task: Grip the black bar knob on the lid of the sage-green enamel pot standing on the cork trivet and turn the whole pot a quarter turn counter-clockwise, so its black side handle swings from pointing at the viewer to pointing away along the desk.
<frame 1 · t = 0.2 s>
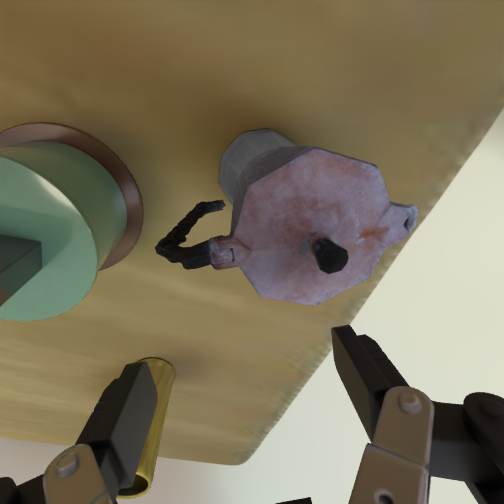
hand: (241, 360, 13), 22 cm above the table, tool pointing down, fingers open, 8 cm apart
moka pot: (257, 175, 32), on the table
vase: (153, 371, 43), on the table
trivet: (65, 205, 31), on the table
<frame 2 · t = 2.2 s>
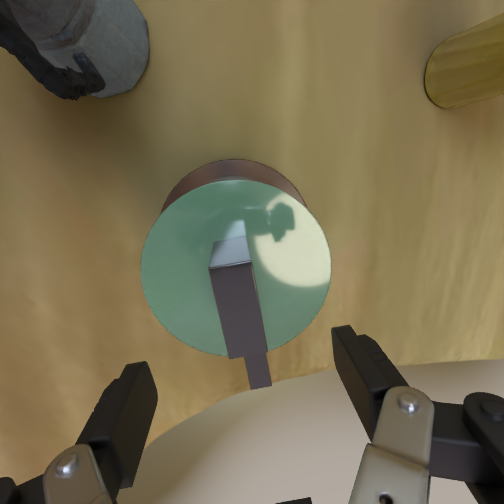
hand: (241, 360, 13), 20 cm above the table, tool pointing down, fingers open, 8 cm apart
moka pot: (103, 43, 25), on the table
vase: (453, 73, 28), on the table
pot: (243, 295, 24), point 8 cm above the table, hinge at 0.0°
trivet: (236, 238, 31), on the table
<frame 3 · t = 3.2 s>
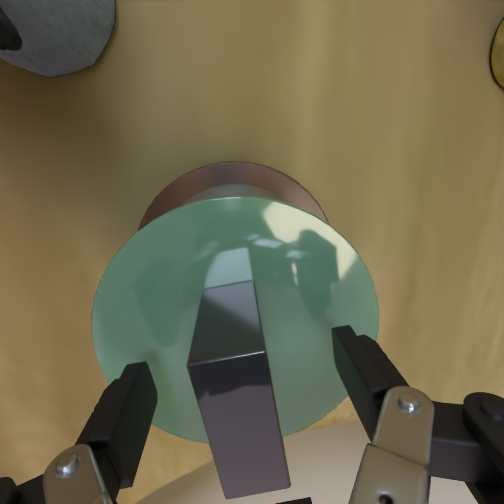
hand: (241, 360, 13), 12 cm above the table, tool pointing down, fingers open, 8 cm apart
moka pot: (51, 1, 18), on the table
pot: (246, 355, 17), point 8 cm above the table, hinge at 0.0°
trivet: (236, 263, 24), on the table
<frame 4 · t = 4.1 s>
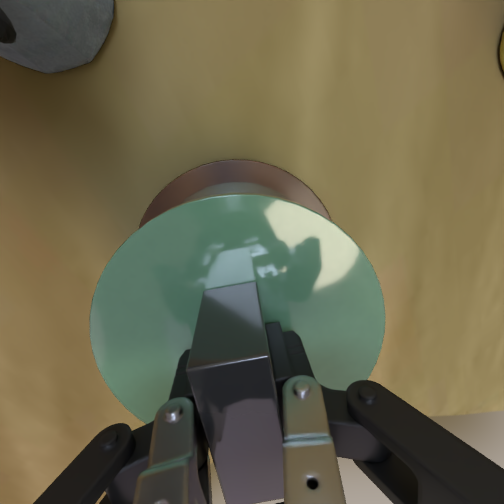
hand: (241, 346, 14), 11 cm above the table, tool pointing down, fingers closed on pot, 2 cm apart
pot: (249, 356, 17), point 8 cm above the table, hinge at 0.0°, touching gripper
trivet: (238, 263, 24), on the table
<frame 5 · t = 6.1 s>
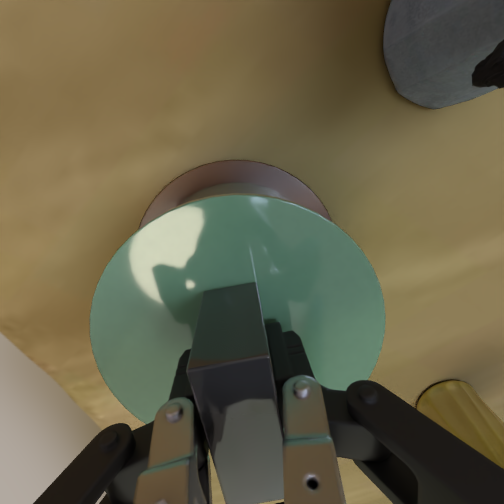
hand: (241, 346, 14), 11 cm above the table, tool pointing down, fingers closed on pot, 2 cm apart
moka pot: (440, 44, 20), on the table
vase: (443, 401, 30), on the table
pot: (249, 357, 17), point 8 cm above the table, hinge at 74.2°, touching gripper
trivet: (238, 263, 24), on the table
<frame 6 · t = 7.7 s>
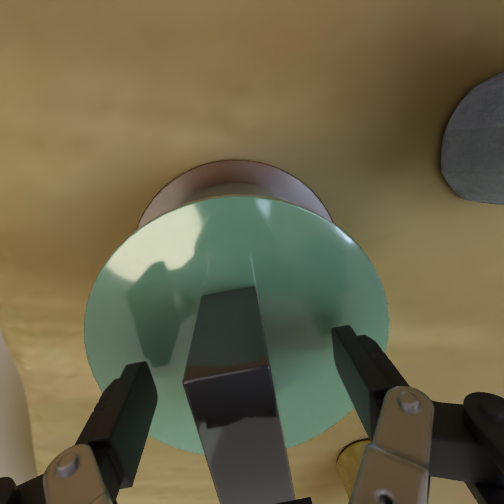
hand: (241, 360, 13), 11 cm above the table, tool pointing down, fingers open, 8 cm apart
moka pot: (488, 146, 22), on the table
vase: (363, 458, 31), on the table
pot: (249, 362, 16), point 8 cm above the table, hinge at 97.1°
trivet: (237, 265, 23), on the table
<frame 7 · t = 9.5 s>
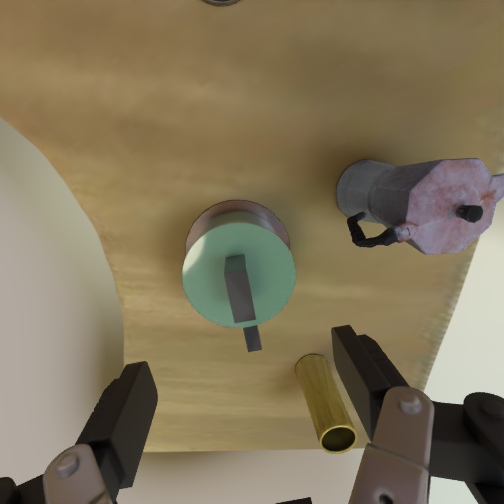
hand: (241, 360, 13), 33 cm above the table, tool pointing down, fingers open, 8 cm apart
moka pot: (361, 192, 44), on the table
vase: (311, 367, 53), on the table
pot: (242, 290, 39), point 8 cm above the table, hinge at 97.1°
trivet: (238, 251, 45), on the table
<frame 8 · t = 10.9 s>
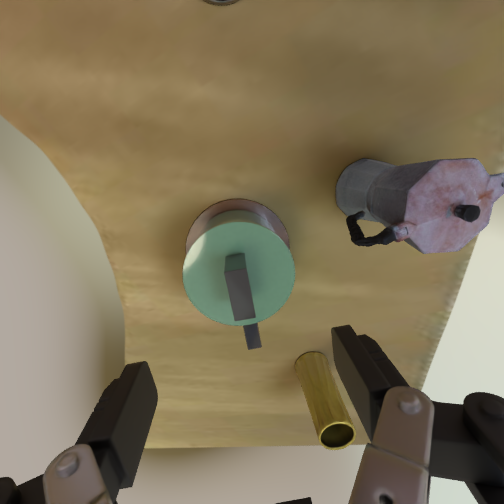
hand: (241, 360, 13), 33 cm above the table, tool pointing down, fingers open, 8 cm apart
moka pot: (360, 191, 44), on the table
vase: (311, 364, 54), on the table
pot: (242, 288, 39), point 8 cm above the table, hinge at 97.1°
trivet: (238, 250, 46), on the table
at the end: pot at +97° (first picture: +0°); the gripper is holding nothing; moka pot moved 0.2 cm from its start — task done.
